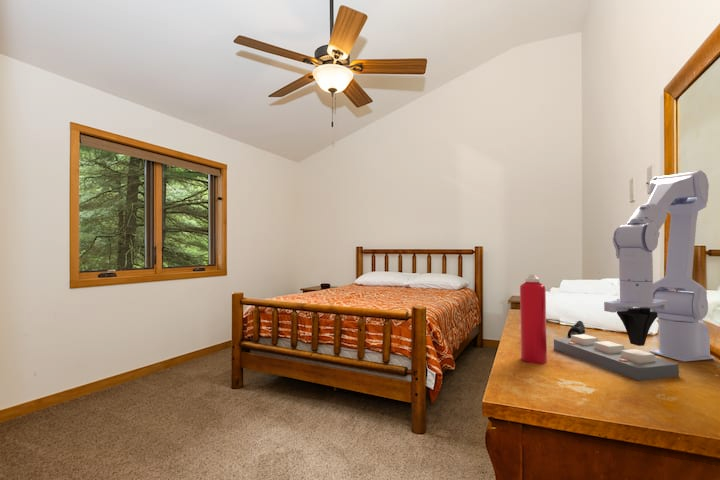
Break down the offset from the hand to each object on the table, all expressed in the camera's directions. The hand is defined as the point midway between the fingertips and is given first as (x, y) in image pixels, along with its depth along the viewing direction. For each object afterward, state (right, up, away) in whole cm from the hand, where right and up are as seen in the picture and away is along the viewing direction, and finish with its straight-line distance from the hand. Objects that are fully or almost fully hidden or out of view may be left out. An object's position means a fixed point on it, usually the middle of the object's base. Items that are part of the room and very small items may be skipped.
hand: (637, 344), depth 78 cm
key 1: (-3, -6, +14) cm, 15 cm away
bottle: (-18, -6, +8) cm, 21 cm away
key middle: (-1, -6, +7) cm, 9 cm away
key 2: (0, -6, 0) cm, 6 cm away
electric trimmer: (+7, -7, +33) cm, 35 cm away
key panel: (-1, -6, +7) cm, 9 cm away
